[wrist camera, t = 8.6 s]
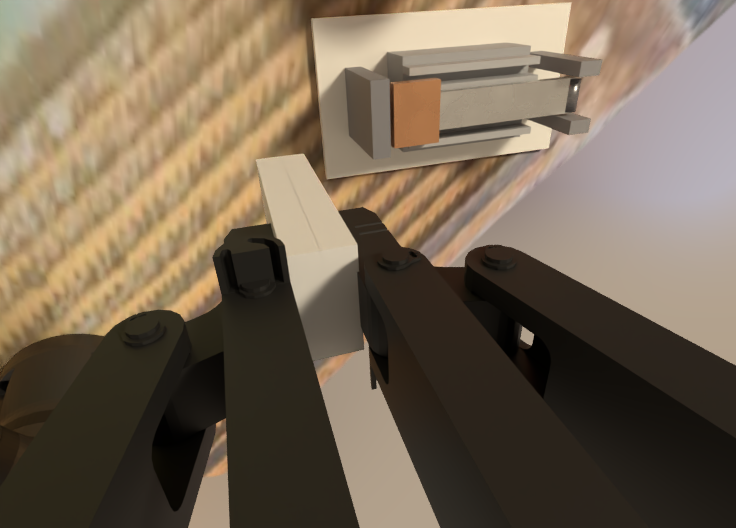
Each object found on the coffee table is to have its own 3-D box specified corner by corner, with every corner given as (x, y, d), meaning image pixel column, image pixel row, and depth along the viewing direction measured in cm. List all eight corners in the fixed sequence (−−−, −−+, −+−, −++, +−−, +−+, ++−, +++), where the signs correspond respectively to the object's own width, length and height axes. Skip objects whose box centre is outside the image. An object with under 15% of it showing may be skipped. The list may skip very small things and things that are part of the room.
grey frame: (325, 176, 46) (347, 211, 38) (310, 18, 39) (334, 22, 31) (544, 146, 52) (602, 171, 44) (565, 2, 44) (639, 2, 37)
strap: (389, 144, 39) (395, 149, 38) (388, 82, 36) (394, 84, 35) (566, 120, 43) (576, 123, 42) (576, 62, 41) (587, 64, 40)
